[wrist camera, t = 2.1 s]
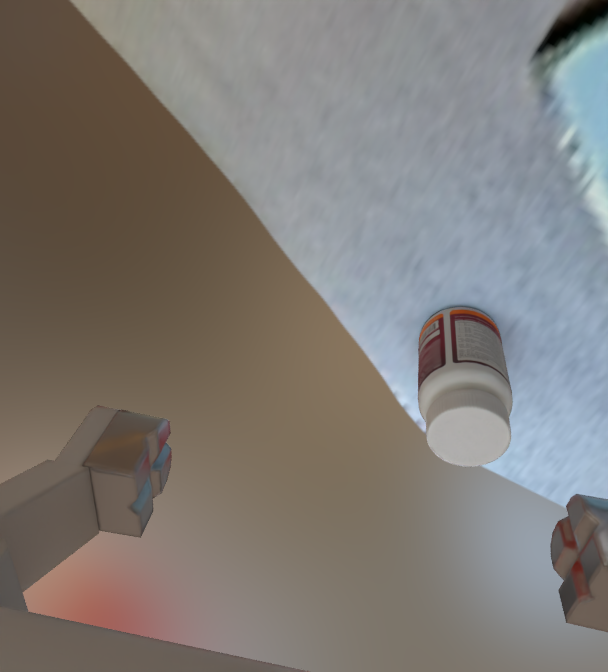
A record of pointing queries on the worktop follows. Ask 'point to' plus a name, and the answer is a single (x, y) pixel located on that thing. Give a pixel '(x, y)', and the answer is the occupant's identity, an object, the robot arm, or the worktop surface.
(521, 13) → the worktop surface
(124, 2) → the worktop surface
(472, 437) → the pill bottle
